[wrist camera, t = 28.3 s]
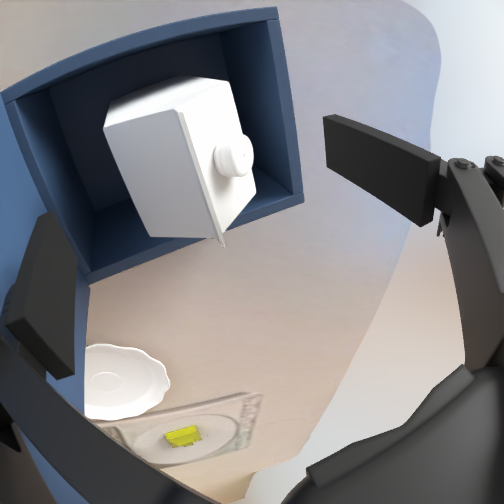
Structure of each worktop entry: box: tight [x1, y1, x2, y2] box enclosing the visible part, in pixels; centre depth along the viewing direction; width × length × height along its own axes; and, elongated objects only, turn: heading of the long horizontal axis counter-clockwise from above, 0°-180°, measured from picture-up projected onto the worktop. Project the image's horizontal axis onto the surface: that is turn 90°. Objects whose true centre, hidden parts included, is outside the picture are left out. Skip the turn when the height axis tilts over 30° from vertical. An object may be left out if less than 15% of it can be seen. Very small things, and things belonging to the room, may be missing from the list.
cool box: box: [0, 7, 304, 285], centre depth 25 cm, size 19×16×12 cm
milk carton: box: [103, 75, 256, 248], centre depth 21 cm, size 7×7×19 cm
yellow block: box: [165, 423, 208, 448], centre depth 62 cm, size 10×9×3 cm
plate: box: [84, 344, 170, 420], centre depth 45 cm, size 21×21×2 cm
